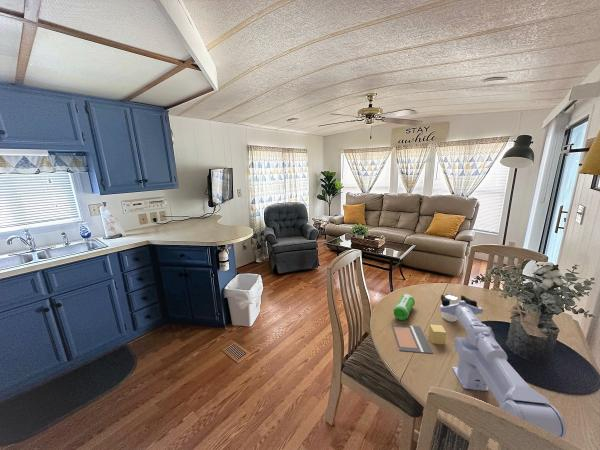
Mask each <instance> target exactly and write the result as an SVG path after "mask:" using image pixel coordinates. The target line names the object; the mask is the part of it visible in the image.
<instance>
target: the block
mask: <svg viewBox="0 0 600 450" xmlns="http://www.w3.org/2000/svg"><path fill="white" fill-rule="evenodd" d="M428 330H429V331H428V337H429V340H430V341H431V343H432V344H434V345H435V344H436V345H446V338H447V337H446V336H447V331H446V330H445V328H444V327H443V325H442V324H441V325H440V324H429V329H428Z"/></svg>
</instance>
